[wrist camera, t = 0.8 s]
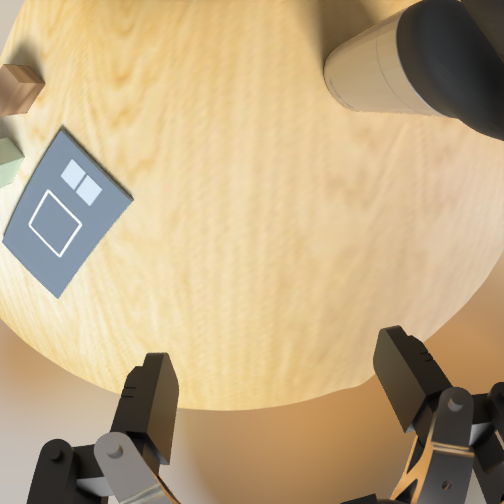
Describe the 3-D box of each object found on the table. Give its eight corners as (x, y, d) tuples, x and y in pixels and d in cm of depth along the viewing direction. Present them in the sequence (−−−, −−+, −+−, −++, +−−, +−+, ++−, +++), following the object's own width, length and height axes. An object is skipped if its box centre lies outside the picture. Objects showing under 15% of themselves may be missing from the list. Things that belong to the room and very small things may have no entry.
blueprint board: (64, 129, 30) (60, 130, 29) (133, 199, 35) (131, 202, 34) (5, 239, 35) (1, 242, 34) (60, 295, 40) (57, 299, 39)
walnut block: (29, 66, 25) (3, 64, 19) (45, 84, 26) (19, 82, 21) (11, 95, 26) (-15, 96, 21) (26, 113, 28) (0, 116, 22)
